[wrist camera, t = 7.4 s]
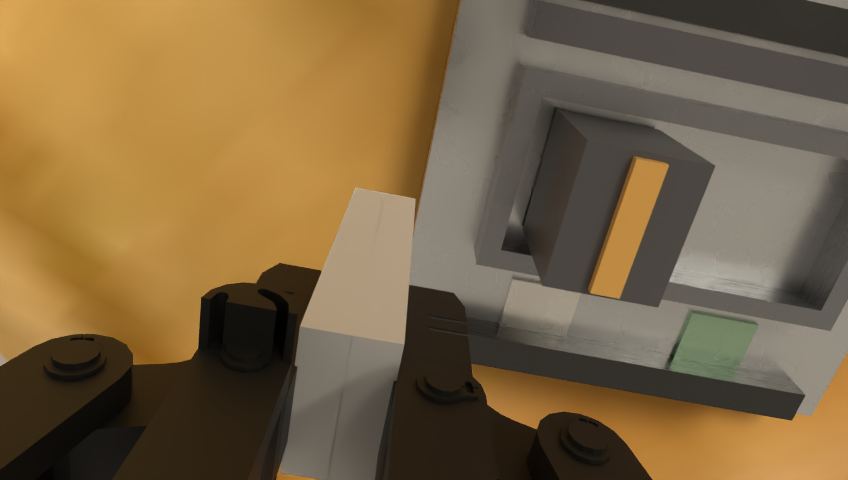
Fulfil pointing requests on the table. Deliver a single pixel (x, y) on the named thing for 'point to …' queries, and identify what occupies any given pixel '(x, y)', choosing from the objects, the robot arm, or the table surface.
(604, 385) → the breaker panel
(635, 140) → the breaker toggle
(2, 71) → the table surface
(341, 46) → the table surface
